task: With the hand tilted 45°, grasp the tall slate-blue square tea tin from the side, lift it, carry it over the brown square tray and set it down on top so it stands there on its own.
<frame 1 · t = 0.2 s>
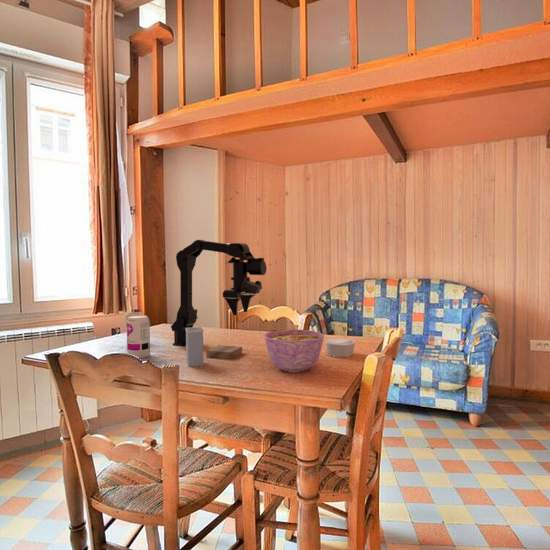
hand: (240, 313, 179), 14 cm above the table, tool pointing down, fingers open, 9 cm apart
brown square tray: (224, 356, 170), on the table
tin: (194, 364, 157), on the table
character mug: (134, 343, 193), on the table
bowl of food: (294, 369, 149), on the table
supplement can: (138, 356, 169), on the table
ramekin: (340, 355, 169), on the table
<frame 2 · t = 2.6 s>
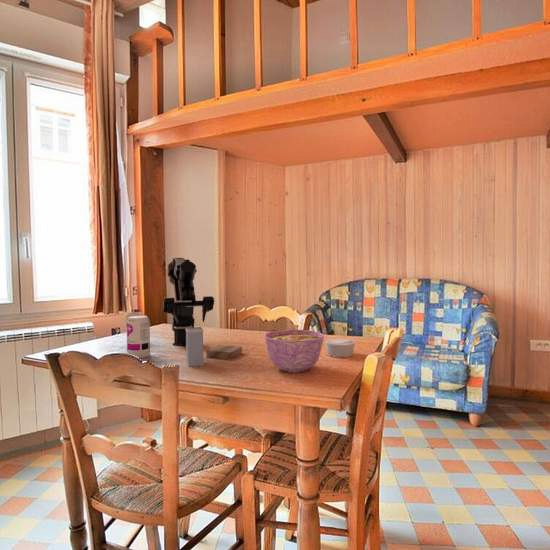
hand: (191, 322, 164), 14 cm above the table, tool tilted 45°, fingers open, 9 cm apart
nothing on the table moved.
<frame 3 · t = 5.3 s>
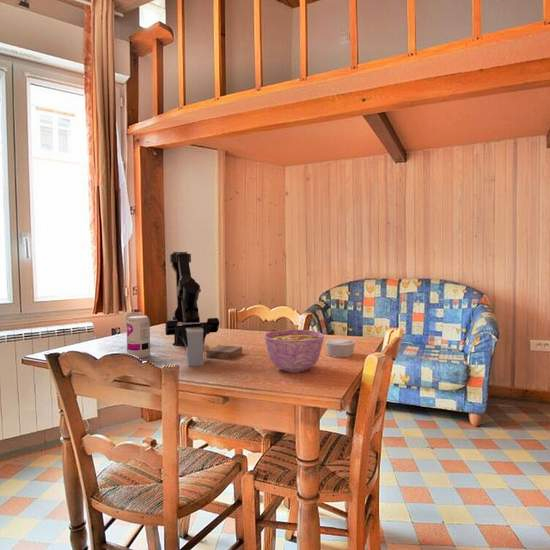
hand: (195, 346, 155), 7 cm above the table, tool tilted 45°, fingers closed on tin, 5 cm apart
tin: (194, 363, 157), on the table, touching gripper
everything else where it was.
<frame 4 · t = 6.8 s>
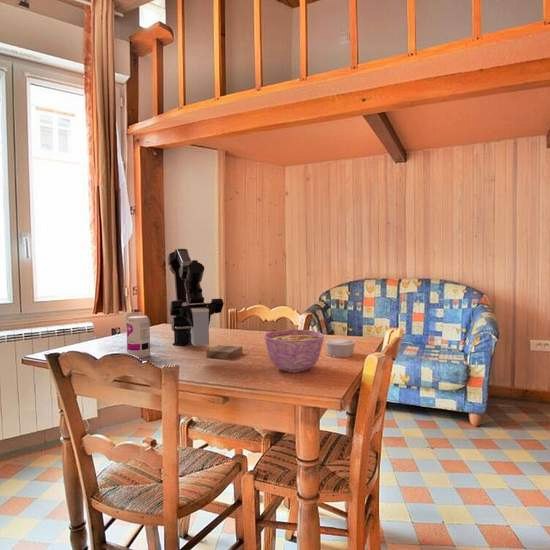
hand: (200, 325, 157), 13 cm above the table, tool tilted 45°, fingers closed on tin, 5 cm apart
tin: (200, 343, 158), point 7 cm above the table, touching gripper
everything else where it was.
when the fingers open (10 cm above the table, at t = 8.6 s): tin drops 1 cm, point 3 cm above the table.
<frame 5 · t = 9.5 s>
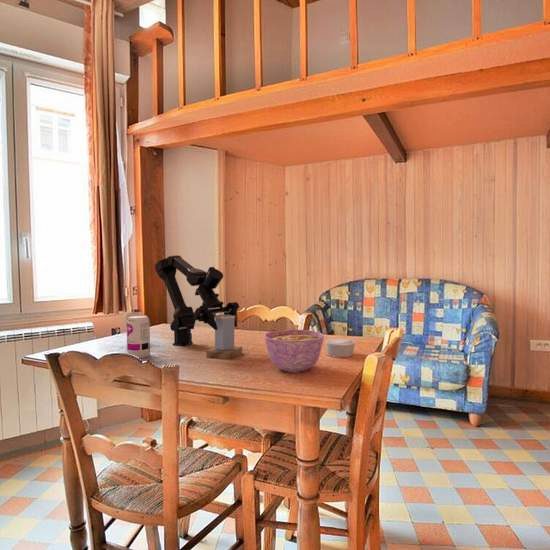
hand: (226, 328, 168), 11 cm above the table, tool tilted 45°, fingers open, 9 cm apart
tin: (224, 348, 170), point 3 cm above the table
everything else where it was.
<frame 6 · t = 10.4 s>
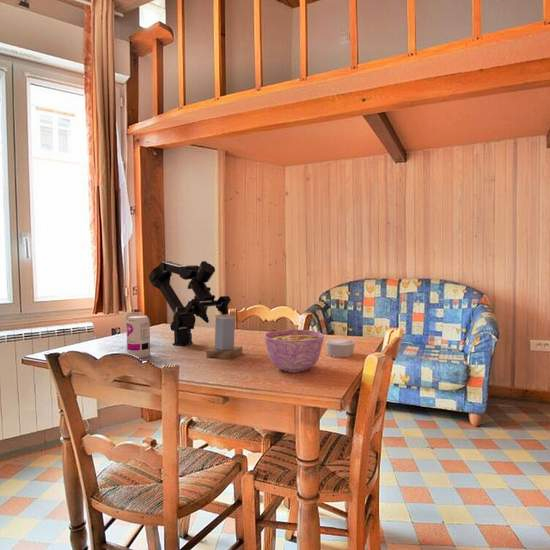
hand: (217, 321, 172), 13 cm above the table, tool tilted 45°, fingers open, 9 cm apart
brown square tray: (224, 356, 170), on the table, touching tin
tin: (224, 348, 170), point 3 cm above the table, touching brown square tray
everything else where it was.
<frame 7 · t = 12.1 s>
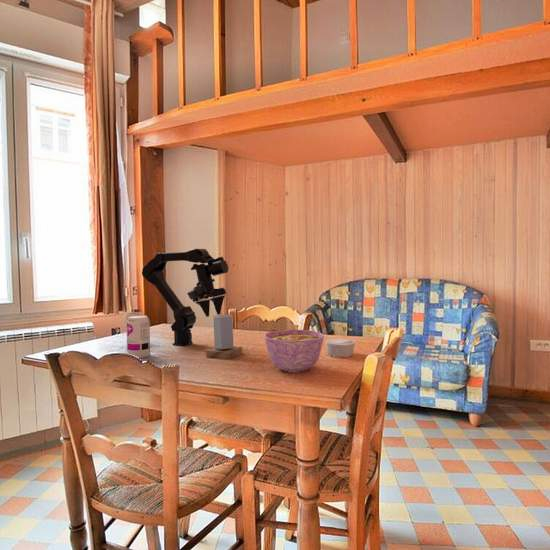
hand: (213, 315, 184), 13 cm above the table, tool pointing down, fingers open, 9 cm apart
brown square tray: (224, 356, 170), on the table
tin: (224, 348, 170), point 3 cm above the table, tilted 6°
everything else where it was.
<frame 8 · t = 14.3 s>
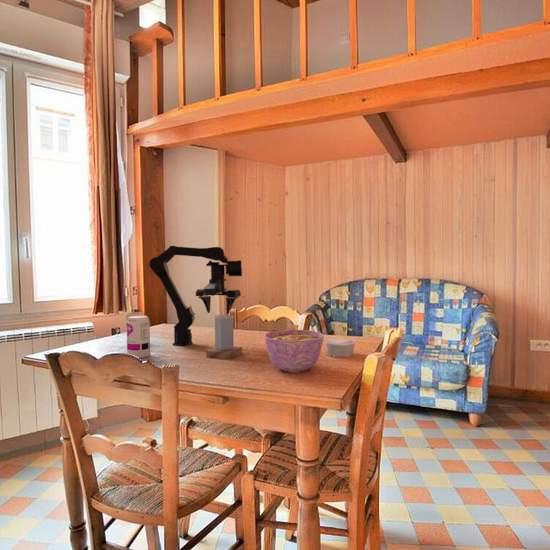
hand: (218, 313, 190), 13 cm above the table, tool pointing down, fingers open, 9 cm apart
at the end: tin inside the target area on the brown square tray (0.1 cm from its centre), point 3.1 cm above the brown square tray's base; tin tilted 1°; the gripper is holding nothing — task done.
